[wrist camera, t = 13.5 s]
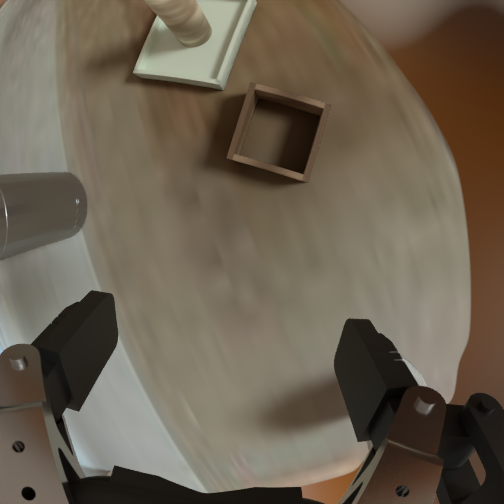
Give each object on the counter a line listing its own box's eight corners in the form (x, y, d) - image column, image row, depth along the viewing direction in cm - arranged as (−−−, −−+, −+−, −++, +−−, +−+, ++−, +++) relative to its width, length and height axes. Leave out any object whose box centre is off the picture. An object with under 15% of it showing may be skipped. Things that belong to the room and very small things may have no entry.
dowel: (192, 53, 28) (150, 3, 17) (173, 36, 28) (128, -13, 16) (218, 32, 28) (188, -25, 16) (198, 15, 27) (163, -39, 16)
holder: (232, 160, 32) (226, 158, 28) (254, 92, 30) (250, 82, 26) (305, 182, 31) (307, 182, 28) (326, 113, 29) (331, 105, 26)
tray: (140, 77, 31) (132, 72, 28) (176, -4, 27) (170, -12, 25) (223, 90, 30) (219, 84, 28) (256, 3, 27) (254, -6, 25)
